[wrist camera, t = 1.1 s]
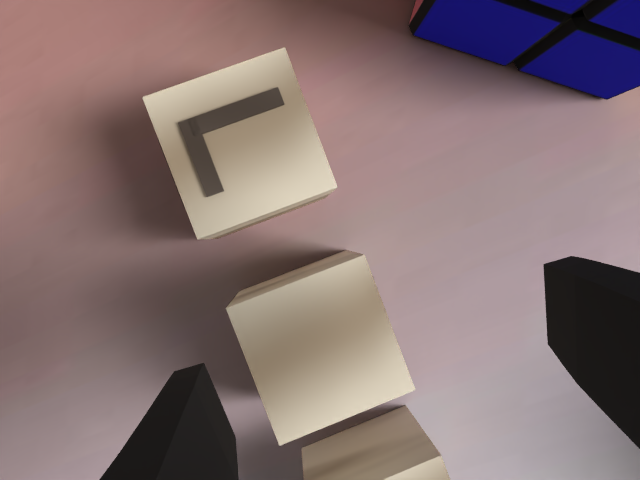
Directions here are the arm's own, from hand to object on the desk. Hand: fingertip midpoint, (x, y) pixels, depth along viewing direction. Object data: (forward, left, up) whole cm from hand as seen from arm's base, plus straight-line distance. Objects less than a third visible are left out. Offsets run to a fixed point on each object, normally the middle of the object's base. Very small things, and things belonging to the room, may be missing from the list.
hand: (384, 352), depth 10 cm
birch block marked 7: (+6, +3, -12) cm, 13 cm away
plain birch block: (-1, +1, -12) cm, 12 cm away
